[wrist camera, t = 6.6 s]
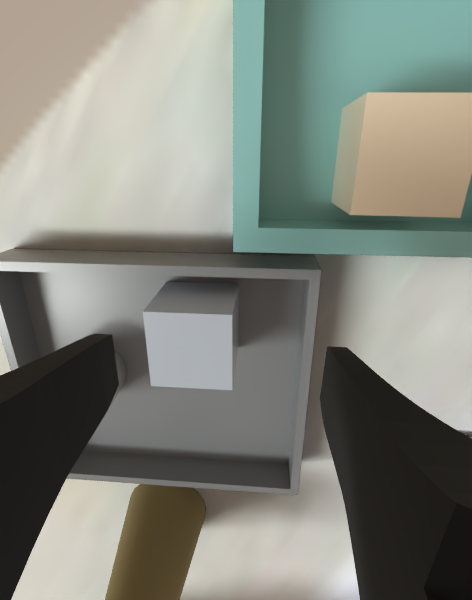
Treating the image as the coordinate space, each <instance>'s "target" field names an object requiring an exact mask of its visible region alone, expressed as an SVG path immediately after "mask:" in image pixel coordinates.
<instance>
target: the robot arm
mask: <svg viewBox="0 0 472 600" xmlns="http://www.w3.org/2000/svg"><path fill="white" fill-rule="evenodd" d="M118 386H119V380H118V373H117V366H116V358H115V351H114V344H113V336H112V334H96V333H95V334H92V335H89V336H86V337H84V338H82V339H80V340H77V341H75V342H73V343H71V344H69V345H67V346H65V347H63V348H60V349H58V350H56V351H54V352H52V353H50V354H48V355H46V356H44V357H42V358H39V359H37V360H35V361H33V362H30V363H28V364H26V365H24V366H21V367H19V368H17V369H15V370H12V371H10V372H8V373H5V374H3V375H1V376H0V600H11V598H12V596H13V593H14V591H15V589H16V586H17V584H18V582H19V579H20V577H21V575H22V572H23V570H24V568H25V565H26V563H27V561H28V558H29V556H30V554H31V551H32V549H33V547H34V545H35V542H36V540H37V538H38V536H39V534H40V531H41V529H42V527H43V525H44V523H45V521H46V518H47V516H48V514H49V512H50V510H51V508H52V506H53V504H54V502H55V500H56V498H57V496H58V494H59V492H60V490H61V488H62V486H63V484H64V482H65V480H66V478H67V476H68V475H69V473H70V471H71V469H72V468H73V466H74V464H75V463H76V461H77V460H78V458H79V456H80V455H81V453H82V452H83V450H84V448H85V447H86V445H87V444H88V442H89V440H90V439H91V437H92V436H93V434H94V432H95V431H96V429H97V427H98V426H99V424H100V423H101V421H102V419H103V418H104V416H105V414H106V413H107V411H108V409H109V407H110V405H111V402H112V400H113V398H114V396H115V393H116V391H117V388H118ZM320 401H321V409H322V416H323V423H324V428H325V432H326V435H327V439H328V443H329V447H330V450H331V454H332V457H333V461H334V465H335V468H336V472H337V476H338V479H339V483H340V486H341V490H342V494H343V499H344V503H345V508H346V513H347V519H348V525H349V531H350V537H351V543H352V549H353V555H354V562H355V568H356V575H357V581H358V588H359V595H360V600H472V437H468V436H466V435H464V434H462V433H461V432H459V431H457V430H455V429H454V428H452V427H450V426H449V425H447V424H445V423H444V422H442V421H440V420H439V419H437V418H436V417H434V416H433V415H431V414H430V413H428V412H426V411H425V410H423V409H422V408H420V407H419V406H418V405H416V404H415V403H413V402H412V401H411V400H409V399H408V398H407V397H405V396H404V395H403V394H401V393H400V392H399V391H397V390H396V389H395V388H393V387H392V386H391V385H390V384H388V383H387V382H386V381H385V380H384V379H382V378H381V377H380V376H379V375H378V374H376V373H375V372H374V371H373V370H372V369H371V368H370V367H368V366H367V365H366V364H365V363H364V362H363V361H362V360H361V359H359V358H358V357H357V356H356V355H355V354H354V353H353V352H351V351H350V350H349V349H348V348H345V347H327V353H326V360H325V367H324V374H323V381H322V388H321V395H320Z"/></svg>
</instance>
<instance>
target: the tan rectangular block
mask: <svg viewBox="0 0 472 600" xmlns="http://www.w3.org/2000/svg"><path fill="white" fill-rule="evenodd" d="M471 175H472V93H415V92H367V93H366V94H364V95H362V96H361V97H359V98H358V99H356V100H355V101H353V102H352V103H350V104H348V105H347V106H345V107H344V108H342V114H341V123H340V131H339V140H338V148H337V157H336V166H335V174H334V183H333V191H332V200H331V202H332V203H333V204H335V205H336V206H337V207H339V208H340V209H342V210H343V211H345V212H346V213H348V214H349V215H372V216H412V217H452V218H460V217H461V213H462V209H463V206H464V202H465V198H466V194H467V190H468V187H469V183H470V179H471Z"/></svg>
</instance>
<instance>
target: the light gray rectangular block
mask: <svg viewBox="0 0 472 600" xmlns="http://www.w3.org/2000/svg"><path fill="white" fill-rule="evenodd" d="M143 319H144V328H145V337H146V346H147V355H148V364H149V373H150V382H151V386H160V387H179V388H198V389H217V390H232V389H233V382H234V375H235V368H236V361H237V354H238V323H239V284H226V283H193V282H166V283H165V284H164V286H163V287H162V288H161V289H160V291H159V292H158V293H157V294H156V296H155V297H154V298H153V299H152V301H151V302H150V303H149V304H148V306H147V307H146V308H145V309H144V311H143Z"/></svg>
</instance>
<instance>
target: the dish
mask: <svg viewBox="0 0 472 600" xmlns="http://www.w3.org/2000/svg"><path fill="white" fill-rule="evenodd" d="M367 92H415V93H472V0H233V252H258V253H301V254H344V255H387V256H429V257H472V175H471V179H470V183H469V187H468V190H467V194H466V198H465V202H464V206H463V209H462V213H461V217H460V218H452V217H412V216H372V215H349V214H348V213H346V212H345V211H343V210H342V209H340V208H339V207H337V206H336V205H335V204H333V203H332V202H331V200H332V191H333V183H334V174H335V166H336V157H337V148H338V140H339V131H340V123H341V114H342V108H344V107H345V106H347V105H348V104H350V103H352V102H353V101H355V100H356V99H358V98H359V97H361V96H362V95H364V94H366V93H367Z"/></svg>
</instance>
